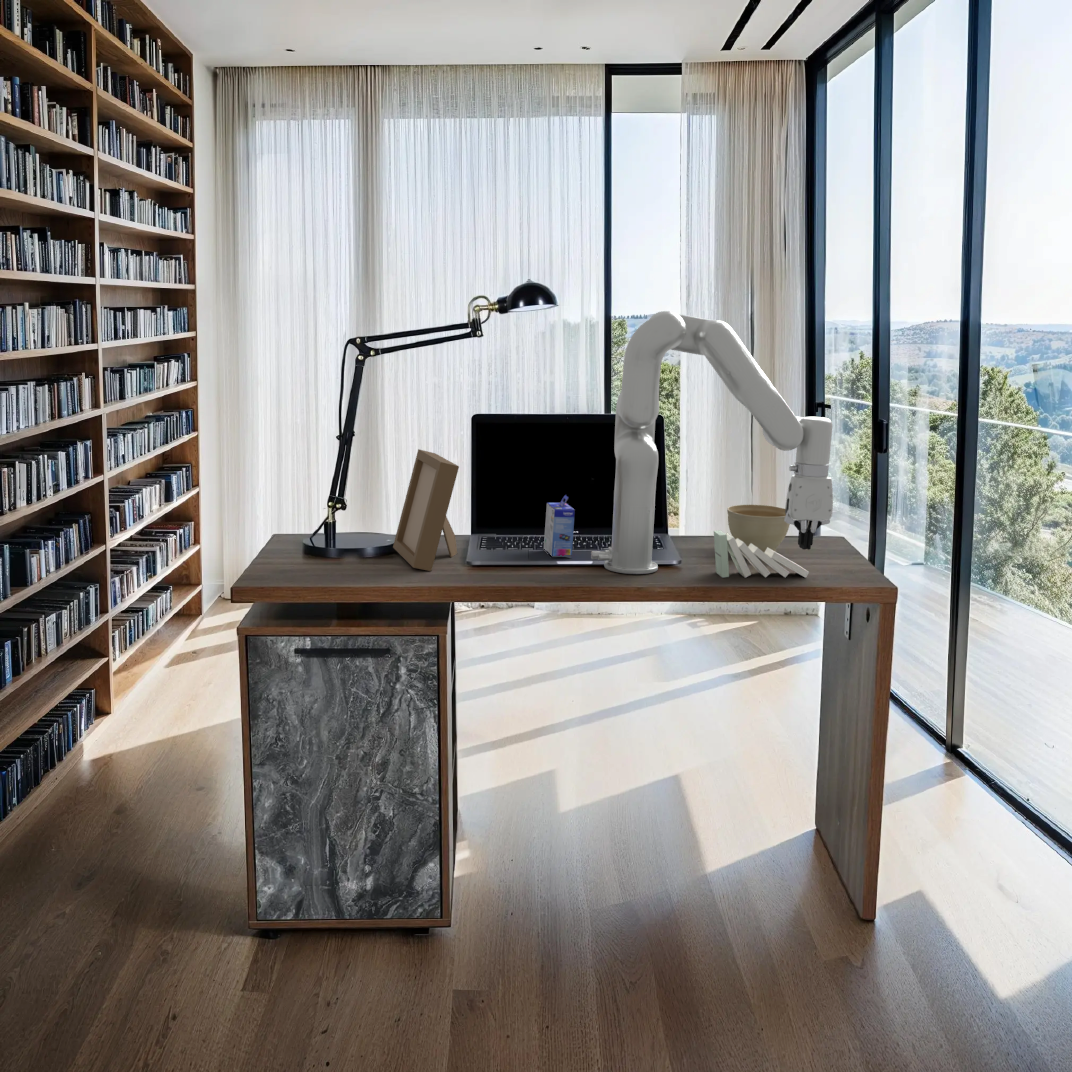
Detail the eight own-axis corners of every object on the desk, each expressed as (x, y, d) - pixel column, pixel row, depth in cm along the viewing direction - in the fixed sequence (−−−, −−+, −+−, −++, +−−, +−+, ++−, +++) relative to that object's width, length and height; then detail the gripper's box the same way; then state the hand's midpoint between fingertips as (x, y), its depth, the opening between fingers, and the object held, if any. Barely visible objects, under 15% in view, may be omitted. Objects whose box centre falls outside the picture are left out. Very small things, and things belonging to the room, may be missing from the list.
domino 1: (722, 571, 267) (720, 530, 265) (729, 576, 262) (726, 534, 260) (716, 572, 267) (713, 531, 265) (722, 577, 262) (719, 535, 260)
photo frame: (413, 571, 257) (416, 461, 252) (392, 551, 277) (395, 449, 272) (476, 569, 261) (480, 462, 257) (451, 549, 282) (455, 449, 277)
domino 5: (805, 577, 265) (770, 557, 263) (798, 572, 270) (763, 553, 268) (809, 571, 265) (774, 551, 263) (801, 566, 270) (767, 547, 267)
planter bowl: (712, 546, 295) (715, 505, 293) (764, 543, 302) (768, 503, 299) (747, 560, 281) (750, 517, 279) (801, 556, 287) (804, 514, 285)
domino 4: (785, 577, 264) (753, 553, 262) (777, 572, 269) (746, 548, 267) (789, 572, 264) (757, 547, 262) (782, 567, 269) (750, 542, 267)
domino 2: (745, 577, 263) (727, 540, 260) (738, 572, 268) (721, 535, 265) (751, 574, 263) (734, 537, 260) (744, 569, 268) (727, 532, 265)
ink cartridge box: (573, 558, 276) (576, 499, 273) (551, 558, 275) (553, 499, 272) (564, 549, 285) (567, 492, 282) (543, 549, 284) (545, 492, 281)
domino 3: (765, 577, 264) (738, 547, 261) (758, 572, 268) (732, 542, 266) (770, 572, 263) (744, 542, 261) (763, 567, 268) (737, 537, 266)
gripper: (786, 472, 258) (779, 551, 261) (848, 473, 260) (841, 552, 263) (774, 467, 265) (768, 544, 269) (836, 468, 267) (829, 545, 271)
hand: (804, 548), depth 266 cm, fingers closed
